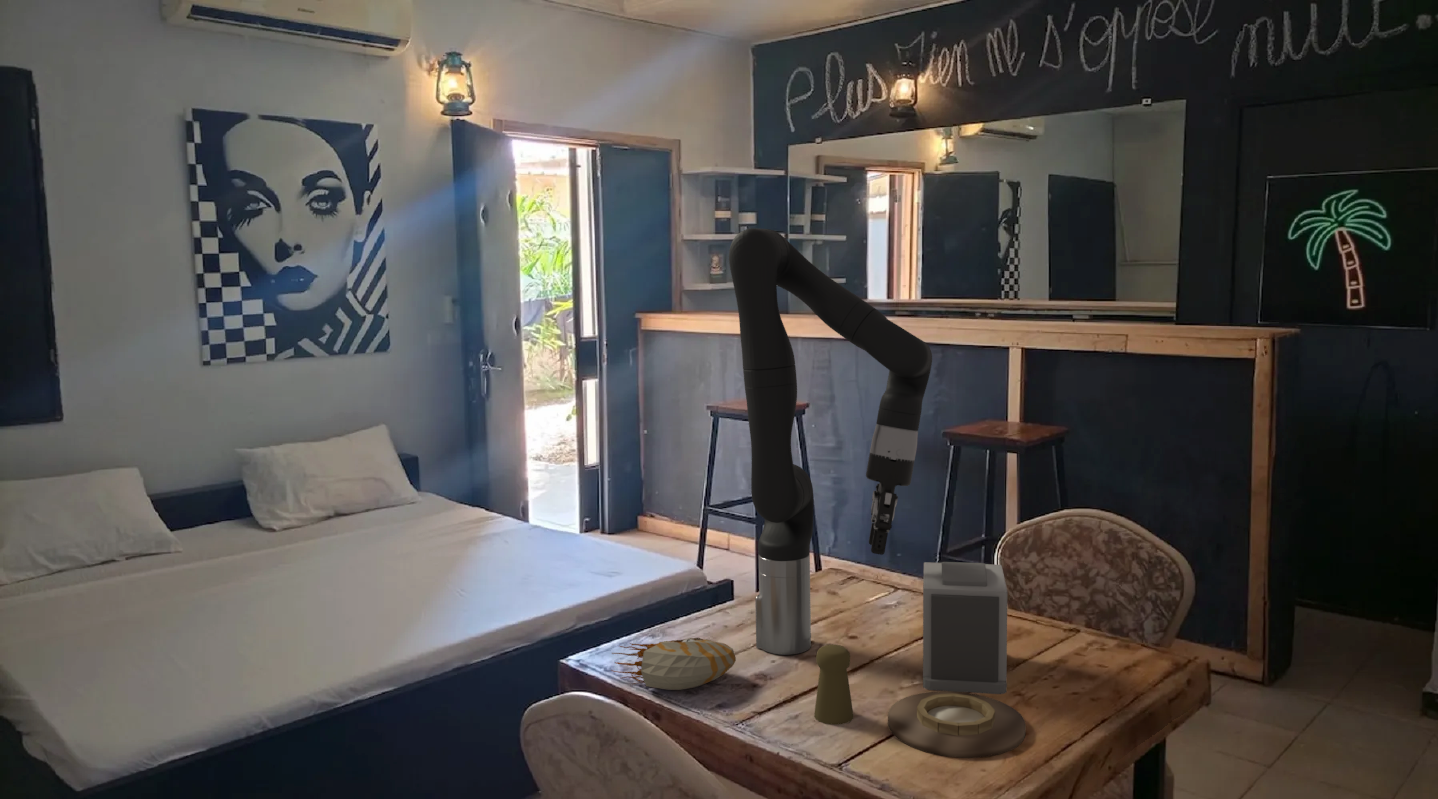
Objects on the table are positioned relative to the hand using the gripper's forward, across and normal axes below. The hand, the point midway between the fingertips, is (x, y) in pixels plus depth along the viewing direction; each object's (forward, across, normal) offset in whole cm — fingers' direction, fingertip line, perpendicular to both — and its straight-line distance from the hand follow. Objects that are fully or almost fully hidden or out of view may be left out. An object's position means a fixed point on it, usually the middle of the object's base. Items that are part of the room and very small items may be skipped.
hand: (875, 549), depth 174 cm
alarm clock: (+18, -3, +18) cm, 26 cm away
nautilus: (+28, +4, -30) cm, 41 cm away
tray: (+21, +18, +15) cm, 32 cm away
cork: (+24, +16, -3) cm, 29 cm away
